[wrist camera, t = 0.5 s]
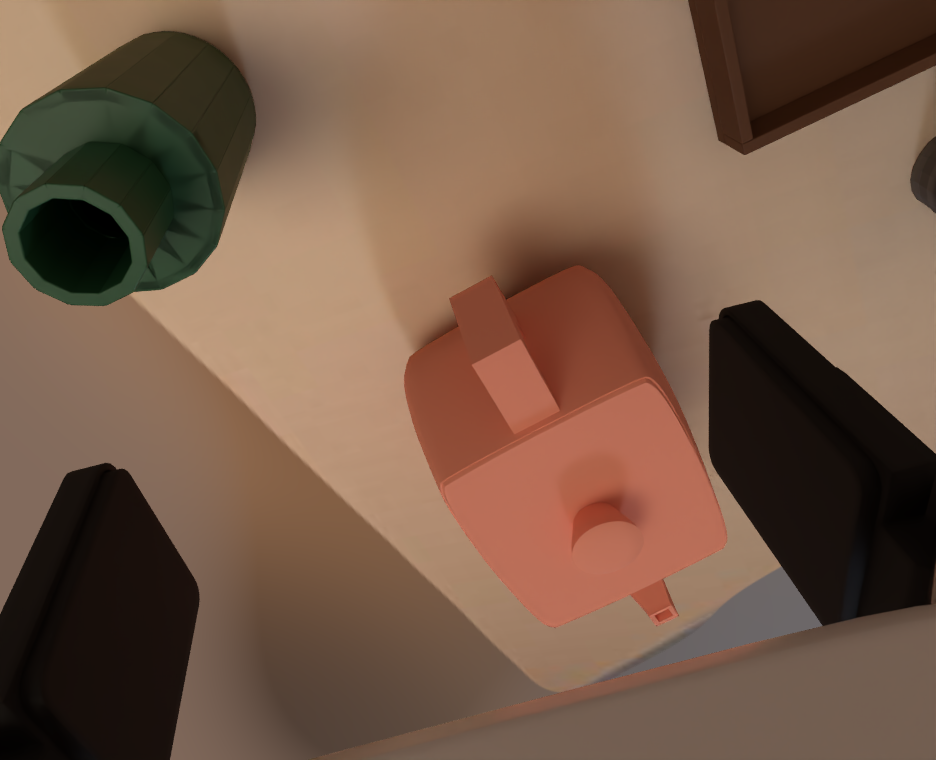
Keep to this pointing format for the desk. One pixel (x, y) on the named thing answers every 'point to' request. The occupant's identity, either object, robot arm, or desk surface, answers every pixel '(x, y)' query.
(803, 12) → the tray
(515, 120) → the desk surface
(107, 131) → the bottle
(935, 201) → the beverage cup
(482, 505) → the teapot
